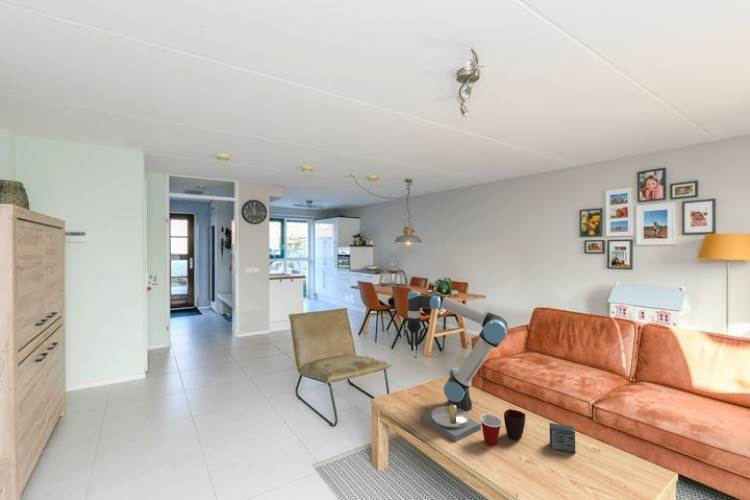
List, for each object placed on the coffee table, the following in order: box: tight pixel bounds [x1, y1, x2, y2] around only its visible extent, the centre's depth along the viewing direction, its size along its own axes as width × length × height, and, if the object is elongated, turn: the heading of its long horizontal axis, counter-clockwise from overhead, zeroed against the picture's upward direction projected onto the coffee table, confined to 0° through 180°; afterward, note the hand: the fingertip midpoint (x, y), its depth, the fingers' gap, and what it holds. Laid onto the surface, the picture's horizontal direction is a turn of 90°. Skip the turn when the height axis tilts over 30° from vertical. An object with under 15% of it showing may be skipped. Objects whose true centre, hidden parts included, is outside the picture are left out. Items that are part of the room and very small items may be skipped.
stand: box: [419, 405, 482, 443], centre depth 193 cm, size 26×20×3 cm
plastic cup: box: [479, 413, 503, 447], centre depth 176 cm, size 11×11×12 cm
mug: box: [503, 408, 526, 442], centre depth 182 cm, size 10×14×12 cm
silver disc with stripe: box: [431, 404, 470, 429], centre depth 193 cm, size 20×20×11 cm
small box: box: [549, 422, 576, 454], centre depth 171 cm, size 11×6×10 cm, turn 71°
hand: (414, 355), depth 212 cm, fingers closed
